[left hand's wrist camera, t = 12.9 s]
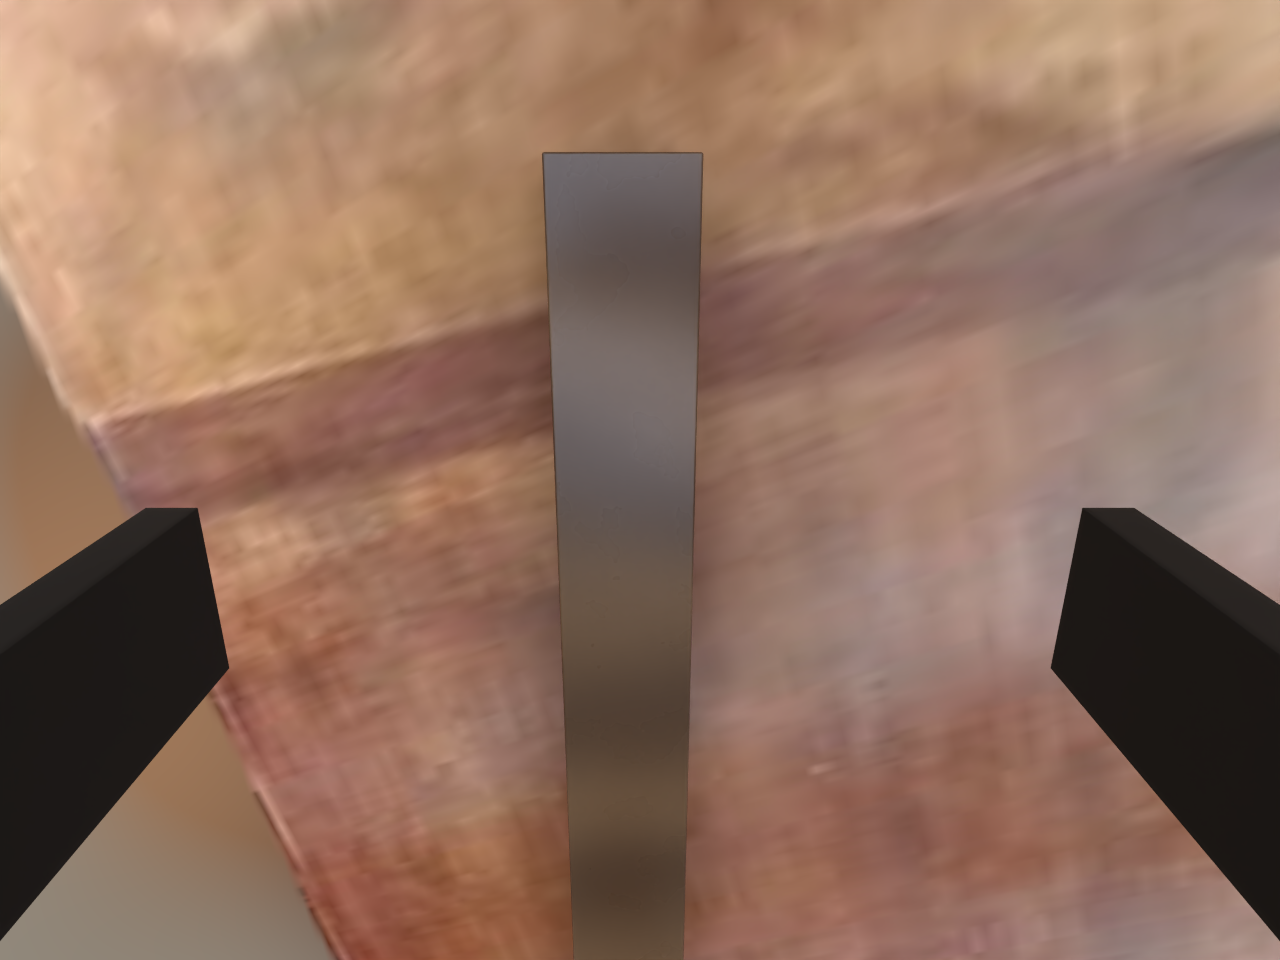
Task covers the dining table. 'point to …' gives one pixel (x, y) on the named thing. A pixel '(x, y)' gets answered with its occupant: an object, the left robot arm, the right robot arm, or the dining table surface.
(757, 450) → the dining table surface
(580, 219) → the bar
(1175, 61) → the dining table surface
